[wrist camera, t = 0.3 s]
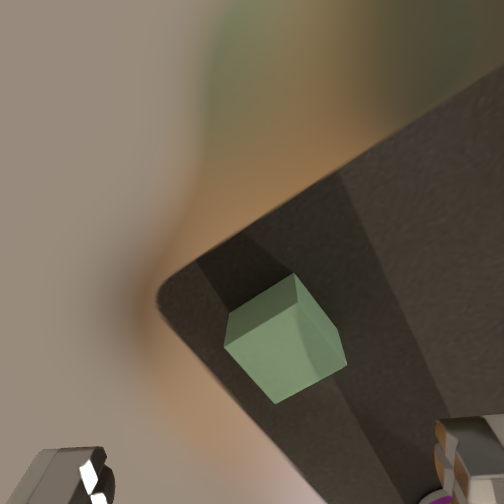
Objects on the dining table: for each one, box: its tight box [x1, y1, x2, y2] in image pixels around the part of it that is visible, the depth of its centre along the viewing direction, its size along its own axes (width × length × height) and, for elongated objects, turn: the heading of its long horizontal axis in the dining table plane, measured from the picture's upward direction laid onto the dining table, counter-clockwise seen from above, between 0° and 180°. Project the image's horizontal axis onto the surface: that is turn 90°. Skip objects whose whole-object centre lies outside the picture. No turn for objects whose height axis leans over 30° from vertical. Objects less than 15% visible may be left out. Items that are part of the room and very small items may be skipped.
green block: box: [224, 273, 347, 404], centre depth 27 cm, size 6×6×4 cm
